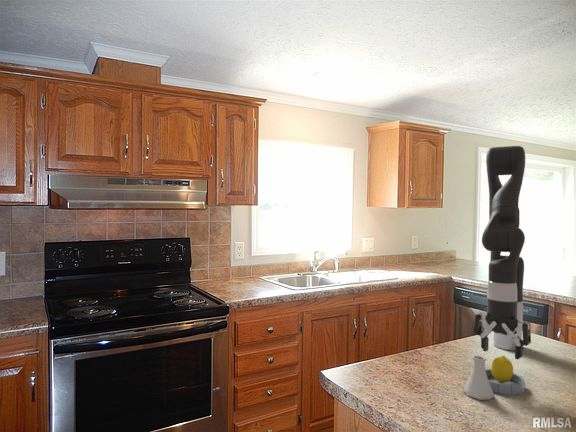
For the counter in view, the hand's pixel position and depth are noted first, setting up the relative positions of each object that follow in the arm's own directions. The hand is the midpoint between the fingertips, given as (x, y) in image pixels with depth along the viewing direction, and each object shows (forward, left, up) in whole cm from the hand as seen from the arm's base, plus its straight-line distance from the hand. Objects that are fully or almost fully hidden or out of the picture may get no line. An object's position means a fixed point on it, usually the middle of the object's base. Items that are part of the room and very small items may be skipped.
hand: (501, 354), depth 115 cm
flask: (+11, -2, -9) cm, 14 cm away
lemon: (0, 0, -8) cm, 8 cm away
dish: (0, 0, -9) cm, 9 cm away
